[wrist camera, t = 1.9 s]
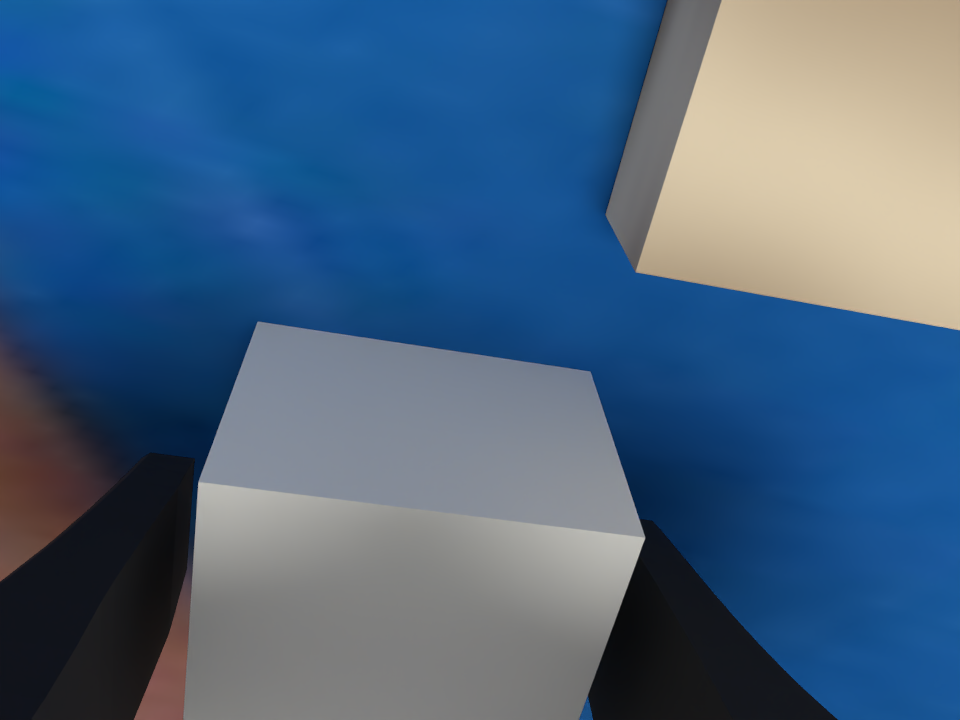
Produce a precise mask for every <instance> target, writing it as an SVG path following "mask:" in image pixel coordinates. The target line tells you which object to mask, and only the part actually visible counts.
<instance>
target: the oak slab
mask: <svg viewBox="0 0 960 720" xmlns="http://www.w3.org/2000/svg"><path fill="white" fill-rule="evenodd" d="M606 217H607V219H608V221H609V223H610V225H611V226H612V228H613V230H614V232H615V234H616V236H617V238H618V240H619V242H620V244H621V245H622V247H623V249H624V251H625V253H626V255H627V257H628V259H629V261H630V263H631V264H632V266H633V268H634V270H635V272H638V273H643V274H649V275H654V276H660V277H666V278H671V279H677V280H682V281H688V282H693V283H699V284H705V285H710V286H716V287H721V288H727V289H733V290H738V291H744V292H749V293H755V294H761V295H766V296H772V297H777V298H783V299H788V300H794V301H800V302H805V303H811V304H816V305H822V306H828V307H833V308H839V309H844V310H850V311H856V312H861V313H867V314H872V315H878V316H883V317H889V318H895V319H900V320H906V321H911V322H917V323H923V324H928V325H934V326H939V327H945V328H951V329H956V330H960V0H668V1H667V5H666V8H665V12H664V15H663V18H662V22H661V25H660V29H659V32H658V36H657V39H656V43H655V46H654V49H653V53H652V56H651V60H650V63H649V67H648V70H647V74H646V77H645V80H644V84H643V87H642V91H641V94H640V98H639V101H638V105H637V108H636V111H635V115H634V118H633V122H632V125H631V129H630V132H629V136H628V139H627V142H626V146H625V149H624V153H623V156H622V160H621V163H620V167H619V170H618V173H617V177H616V180H615V184H614V187H613V191H612V194H611V197H610V201H609V204H608V208H607V211H606Z"/></svg>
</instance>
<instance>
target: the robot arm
mask: <svg viewBox="0 0 960 720" xmlns="http://www.w3.org/2000/svg"><path fill="white" fill-rule="evenodd" d="M194 463H195V459H194V458H186V457H179V456H172V455H164V454H157V453H149V454H147V455H146V456H144V457H143V458H141V459H140V460H139V461H138V462H137V463H136V465H135V466H134V467H133V468H132V469H131V470H130V471H129V472H128V473H127V474H126V475H125V476H124V477H123V478H121V479H120V480H119V481H118V482H117V483H116V484H115V485H114V486H113V487H112V488H111V489H110V490H109V491H108V492H107V493H106V494H105V495H104V496H103V497H102V498H100V499H99V500H98V501H97V502H96V503H95V504H94V505H93V506H92V507H91V508H90V509H89V510H87V511H86V512H85V513H84V514H83V515H82V516H81V517H79V518H78V519H77V520H76V521H75V522H74V523H73V524H71V525H70V526H69V527H68V528H67V529H66V530H64V531H63V532H62V533H61V534H60V535H59V536H58V537H56V538H55V539H54V540H53V541H52V542H50V543H49V544H48V545H47V546H46V547H44V548H43V549H42V550H40V551H39V552H38V553H37V554H35V555H34V556H33V557H31V558H30V559H29V560H28V561H26V562H25V563H24V564H22V565H21V566H20V567H19V568H17V569H16V570H15V571H13V572H12V573H11V574H10V575H8V576H7V577H6V578H4V579H3V580H2V581H0V720H134V718H135V715H136V713H137V710H138V708H139V706H140V703H141V701H142V698H143V696H144V693H145V691H146V689H147V686H148V684H149V681H150V679H151V676H152V674H153V671H154V669H155V666H156V664H157V662H158V659H159V657H160V654H161V652H162V649H163V647H164V644H165V642H166V639H167V637H168V634H169V631H170V627H171V624H172V620H173V617H174V613H175V610H176V606H177V603H178V599H179V595H180V592H181V588H182V584H183V581H184V577H185V573H186V570H187V558H188V544H189V531H190V517H191V503H192V490H193V476H194ZM639 520H640V523H641V526H642V529H643V532H644V535H645V540H644V543H643V546H642V548H641V551H640V554H639V557H638V559H637V562H636V565H635V568H634V570H633V573H632V576H631V578H630V581H629V584H628V587H627V589H626V592H625V595H624V598H623V600H622V603H621V606H620V609H619V611H618V614H617V617H616V619H615V622H614V625H613V628H612V630H611V633H610V636H609V639H608V641H607V644H606V647H605V650H604V652H603V655H602V658H601V660H600V663H599V666H598V669H597V671H596V674H595V677H594V680H593V682H592V685H591V688H590V691H589V693H588V698H589V702H590V707H591V711H592V716H593V720H837V719H836V718H835V717H834V716H833V715H832V714H831V713H830V712H828V711H827V710H826V709H825V708H824V707H823V706H822V705H821V704H820V703H818V702H817V701H816V700H815V699H814V698H813V697H812V696H811V695H810V694H808V693H807V692H806V691H805V690H804V689H803V688H802V687H801V686H800V685H799V684H798V683H797V682H796V681H795V680H794V679H793V678H792V677H791V676H790V675H789V674H788V673H787V672H786V671H785V670H784V669H783V668H782V667H781V666H780V665H779V664H778V663H777V662H776V661H775V660H774V659H773V658H772V657H771V656H770V655H769V654H768V653H767V652H766V651H765V650H764V649H763V648H762V647H761V646H760V645H759V644H758V643H757V641H756V640H755V639H754V638H753V637H752V636H751V635H750V634H749V633H748V632H747V631H746V629H745V628H744V627H743V626H742V625H741V624H740V623H739V622H738V621H737V620H736V618H735V617H734V616H733V615H732V614H731V613H730V612H729V610H728V609H727V608H726V607H725V606H724V605H723V604H722V602H721V601H720V600H719V599H718V598H717V597H716V595H715V594H714V593H713V592H712V591H711V590H710V588H709V587H708V586H707V585H706V584H705V582H704V581H703V580H702V579H701V578H700V576H699V575H698V574H697V573H696V572H695V570H694V569H693V568H692V567H691V566H690V564H689V563H688V562H687V561H686V560H685V558H684V557H683V556H682V555H681V554H680V552H679V551H678V550H677V549H676V548H675V546H674V545H673V544H672V543H671V542H670V540H669V539H668V538H667V537H666V536H665V534H664V533H663V532H662V531H661V530H660V529H659V528H658V526H657V525H656V524H655V523H654V522H653V521H650V520H643V519H639Z"/></svg>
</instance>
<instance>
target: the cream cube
mask: <svg viewBox="0 0 960 720" xmlns="http://www.w3.org/2000/svg"><path fill="white" fill-rule="evenodd" d="M644 540H645V535H644V532H643V529H642V526H641V523H640V520H639V517H638V514H637V511H636V508H635V505H634V502H633V499H632V496H631V493H630V490H629V487H628V484H627V481H626V478H625V475H624V472H623V469H622V466H621V462H620V459H619V456H618V453H617V450H616V447H615V444H614V441H613V438H612V435H611V432H610V429H609V426H608V423H607V420H606V417H605V414H604V411H603V408H602V405H601V402H600V399H599V396H598V393H597V390H596V387H595V384H594V381H593V378H592V375H591V372H590V371H583V370H577V369H570V368H563V367H557V366H550V365H543V364H537V363H530V362H523V361H517V360H510V359H504V358H497V357H490V356H484V355H477V354H470V353H464V352H457V351H450V350H444V349H437V348H430V347H424V346H417V345H410V344H404V343H397V342H390V341H384V340H377V339H370V338H364V337H357V336H351V335H344V334H337V333H331V332H324V331H317V330H311V329H304V328H297V327H291V326H284V325H277V324H271V323H264V322H257V325H256V328H255V330H254V333H253V336H252V338H251V341H250V344H249V346H248V349H247V352H246V355H245V357H244V360H243V363H242V365H241V368H240V371H239V373H238V376H237V379H236V382H235V384H234V387H233V390H232V392H231V395H230V398H229V401H228V403H227V406H226V409H225V411H224V414H223V417H222V419H221V422H220V425H219V428H218V430H217V433H216V436H215V438H214V441H213V444H212V447H211V449H210V452H209V455H208V457H207V460H206V463H205V465H204V468H203V471H202V474H201V476H200V479H199V482H198V496H197V512H196V528H195V543H194V559H193V575H192V591H191V606H190V622H189V638H188V654H187V669H186V685H185V701H184V717H183V720H579V718H580V715H581V712H582V710H583V707H584V704H585V701H586V699H587V696H588V693H589V691H590V688H591V685H592V682H593V680H594V677H595V674H596V671H597V669H598V666H599V663H600V660H601V658H602V655H603V652H604V650H605V647H606V644H607V641H608V639H609V636H610V633H611V630H612V628H613V625H614V622H615V619H616V617H617V614H618V611H619V609H620V606H621V603H622V600H623V598H624V595H625V592H626V589H627V587H628V584H629V581H630V578H631V576H632V573H633V570H634V568H635V565H636V562H637V559H638V557H639V554H640V551H641V548H642V546H643V543H644Z"/></svg>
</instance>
